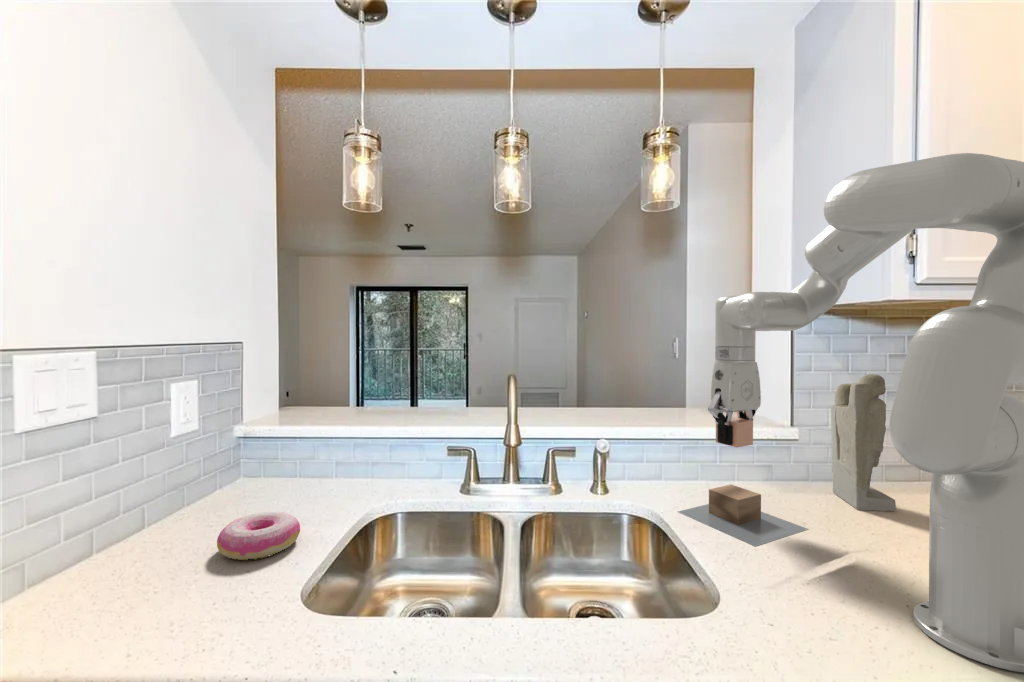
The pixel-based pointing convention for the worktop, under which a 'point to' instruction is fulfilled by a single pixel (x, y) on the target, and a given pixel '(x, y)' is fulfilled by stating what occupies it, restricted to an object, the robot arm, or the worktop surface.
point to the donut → (258, 535)
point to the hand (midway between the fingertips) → (734, 441)
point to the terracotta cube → (740, 432)
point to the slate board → (746, 526)
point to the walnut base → (735, 504)
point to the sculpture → (859, 442)
